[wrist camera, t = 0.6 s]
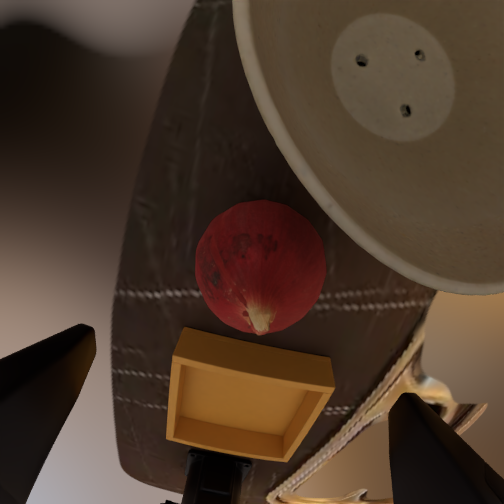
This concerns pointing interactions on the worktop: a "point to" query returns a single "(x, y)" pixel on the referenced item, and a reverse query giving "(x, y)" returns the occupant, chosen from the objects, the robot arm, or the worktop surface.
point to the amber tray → (244, 395)
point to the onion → (260, 266)
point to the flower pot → (391, 124)
